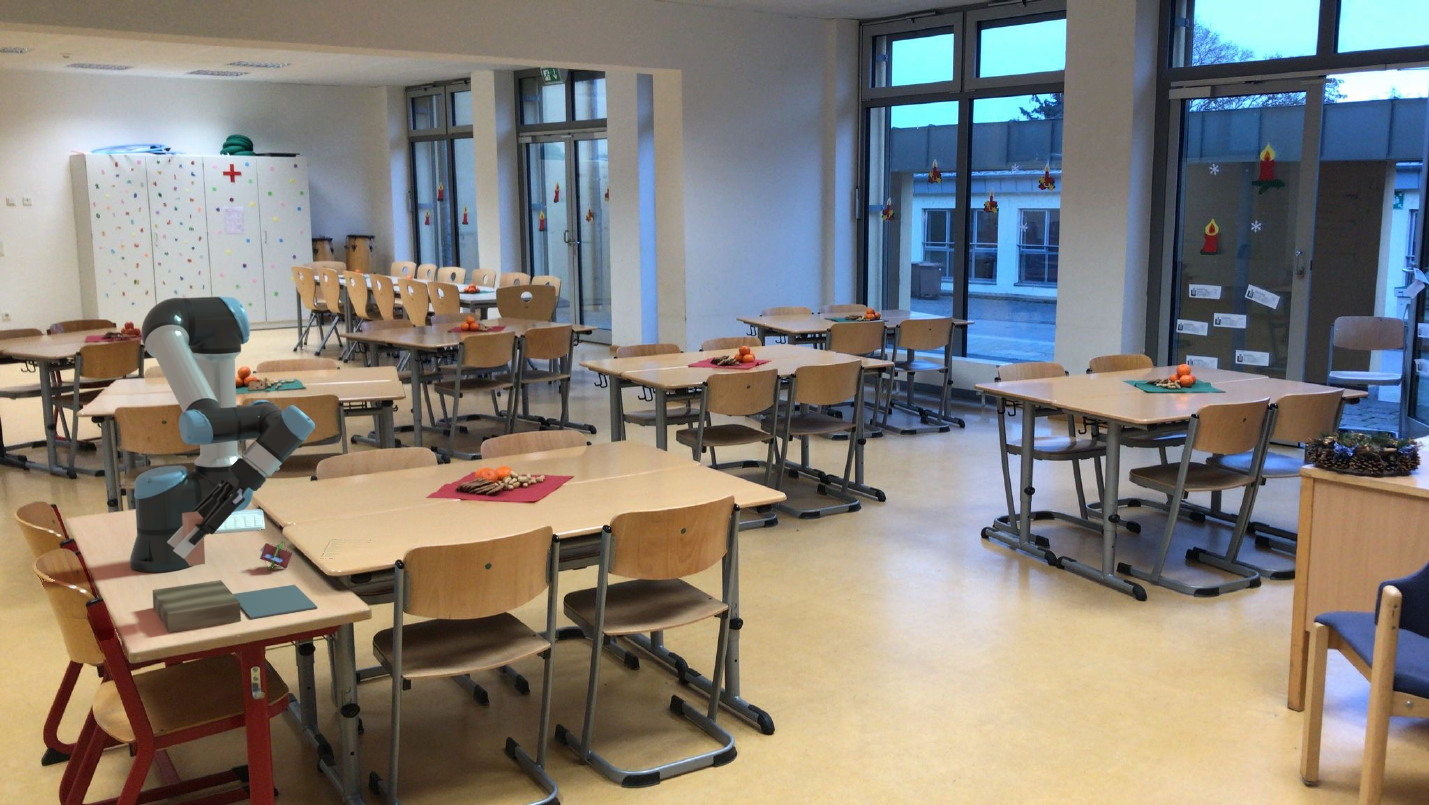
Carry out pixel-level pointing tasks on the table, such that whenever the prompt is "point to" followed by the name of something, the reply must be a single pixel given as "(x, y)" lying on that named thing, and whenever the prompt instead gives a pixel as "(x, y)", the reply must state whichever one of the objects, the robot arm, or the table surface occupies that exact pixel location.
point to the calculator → (243, 521)
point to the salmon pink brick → (198, 552)
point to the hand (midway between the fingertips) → (175, 550)
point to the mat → (274, 601)
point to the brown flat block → (196, 606)
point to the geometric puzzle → (275, 555)
